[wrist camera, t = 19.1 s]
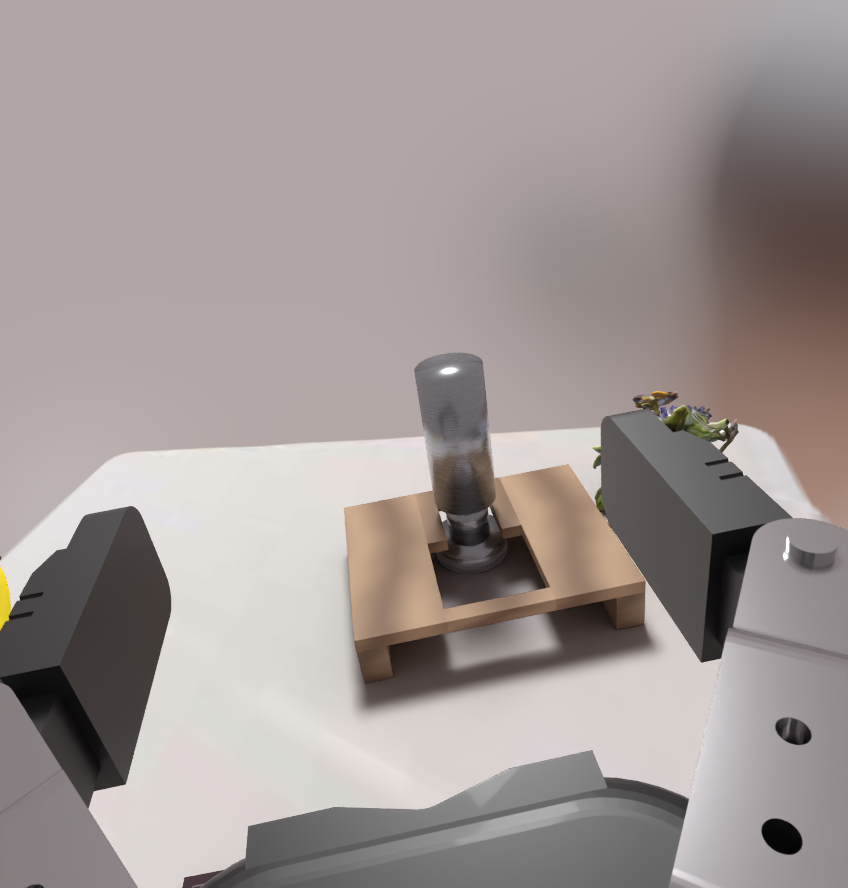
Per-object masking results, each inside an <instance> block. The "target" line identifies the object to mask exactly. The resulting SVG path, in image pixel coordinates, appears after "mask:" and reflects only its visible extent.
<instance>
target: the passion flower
mask: <svg viewBox="0 0 848 888" xmlns="http://www.w3.org/2000/svg"><path fill="white" fill-rule="evenodd" d="M676 398H678V393H677V392H666V393H665V392H659V391H657V392H653V393H651V395H640V396H639V395H638V396H635V397H634V398H633V401H634V402H635V404H636V406H635V407H637V408H643V409H649V410H654V412H655V413H654V412H653V413H654V414H655V415H656V416H657V417H658V418H659V419H660V420H661V421H662V422H663V423H664V424H665V425H666V426H667V427H668V428H669V429H670V430H671V431H672V432H677V431H682V430H684V431H686V432H688V433H690V434H693V435H695V436H697V437H700V438H702V439H704V440H706V441H709V442H714V441H717V440H721V441H726V439H727V442H726V443H725V444H724V445H723V446H722V447H721V448H720V450H719V451H720V452H721V453H722V452H723V451H724V450H725V449H726V447H727V446H728V445H729V444H730V443H731V442H732V441H733V439H734V437H735V436H736V435H737V433H738V429H737V428H738V425H737V423H736V420H737V419H736V420H735V421H734V422H733V423H732V425H731V427H730V428H728V426H727V425H728V424H729V421H728V419H725V420H722V421H720V422H719V423H712V424H710V423H709V422H708V420H709V418H710V417H711V416H712V415H711V414H710V413H708V411H709V410H710V409H709V408H704V406H703V407H700V408H699V409H697V408H696V406H695V407H693V408H692V407H691V406H689V405H682V406H681V407H679V408H678V407H674V406H672V407H671V408H670V410H669V411H667V409H666V408H665V407H663V408H661V413H660V410H659V407H660V406H661V405H666V404H669V403H670V402H672V401H673V400H675V399H676ZM593 449H594V450H595V451H597V452H599V453H600V455H599V456H598V457H597V458H596V460H595V461H594V465H593V468H594V469H596V467H597V466H599V465H601V447H596V446H594V447H593ZM595 500H596V504H597V505H596V506H597V508H598V509H599V510H602V511H603V510H604V506H603V501H602V490H601V487H600V488H599V489H598V491H597V493H596V495H595Z"/></svg>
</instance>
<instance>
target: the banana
mask: <svg viewBox="0 0 848 888" xmlns="http://www.w3.org/2000/svg"><path fill="white" fill-rule="evenodd" d="M0 560H1V557H0ZM10 612H11V603H10V595H9V589H8V585H7V581H6V577H5V575H4V573H3V571H2V569H1V567H0V630H1V628H2V627H3V625H4V623H5V621H9V617H8V616H9V614H10Z"/></svg>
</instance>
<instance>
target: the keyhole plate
mask: <svg viewBox="0 0 848 888" xmlns="http://www.w3.org/2000/svg"><path fill="white" fill-rule="evenodd" d="M494 480H495V490H496V498H495V501H494V502H493V503H492V505H490V509H491V511H492V513H493V516H494V518H495V521H496V523H497V526H498V528H499V530H500V533H501V535H502V538H503V539H506V538H511V537H516V536H521V535H522V536H523V538H524V540H525V542H526V545H527V547H528V549H529V551H530V553H531V556H532V558H533V560H534V562H535V564H536V566H537V569H538V571H539V573H540V575H541V577H542V580H543V582H544V584H545V586H546V588H544V589H539V590H534V591H530V592H525V593H520V594H515V595H510V596H505V597H500V598H496V599H491V600H486V601H481V602H476V603H471V604H466V605H461V606H457V607H452V608H447V609H443V605H442V600H441V596H440V592H439V588H438V584H437V580H436V576H435V572H434V568H433V564H432V560H431V556H430V554H431V553H436V552H441V551H446V550H448V543H447V538H446V535H445V531H444V528H443V525H442V521H441V518H440V514H439V511H441V510H440V509H439V508H438V507H437V506H436V505H435V501H434V494H433V491H429V492H424V493H418V494H413V495H408V496H403V497H398V498H393V499H388V500H382V501H377V502H372V503H367V504H362V505H357V506H352V507H347V508H344V514H345V527H346V540H347V554H348V567H349V580H350V593H351V607H352V620H353V633H354V643H355V647H356V651H357V655H358V658H359V662H360V666H361V670H362V674H363V678H364V682H365V683H368V682H373V681H378V680H383V679H387V678H392V677H393V671H392V663H391V656H390V649H389V645H393V644H398V643H402V642H407V641H412V640H417V639H422V638H426V637H431V636H436V635H441V634H446V633H450V632H455V631H460V630H465V629H470V628H474V627H479V626H484V625H489V624H494V623H499V622H503V621H508V620H513V619H518V618H523V617H527V616H532V615H537V614H542V613H547V612H551V611H556V610H561V609H566V608H571V607H575V606H580V605H585V604H590V603H595V602H599V601H601V602H602V604H603V606H604V608H605V609H606V611H607V613H608V615H609V617H610V618H611V620H612V622H613V624H614V626H615V627H616V629H617V630H620V629H624V628H629V627H634V626H639V625H643V624H644V616H645V579H644V578H643V576H642V575H641V573H640V572H639V570H638V569H637V567H636V566H635V564H634V563H633V561H632V560H631V558H630V557H629V555H628V554H627V552H626V551H625V549H624V548H623V546H622V545H621V543H620V542H619V540H618V538H617V537H616V535H615V534H614V532H613V531H612V529H611V528H610V526H609V525H608V523H607V522H606V520H605V519H604V517H603V516H602V514H601V513H600V511H599V510H598V508H597V507H596V505H595V504H594V502H593V501H592V499H591V498H590V496H589V495H588V493H587V492H586V490H585V489H584V487H583V486H582V484H581V483H580V481H579V480H578V478H577V477H576V475H575V474H574V472H573V471H572V469H571V467H570V466H569V464H567V465H562V466H557V467H552V468H547V469H542V470H536V471H531V472H526V473H521V474H516V475H511V476H506V477H501V478H495V479H494Z"/></svg>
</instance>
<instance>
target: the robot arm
mask: <svg viewBox="0 0 848 888" xmlns="http://www.w3.org/2000/svg"><path fill="white" fill-rule="evenodd" d="M601 490H602V501H603V506H604V510H605V514H606V517H607V519H608V522H609V524H610V526H611V527H612V529H613V531H614V532H615V534H616V535H617V537H618V538H619V540H620V541H621V543H622V544H623V546H624V547H625V549H626V550H627V552H628V553H629V555H630V556H631V558H632V559H633V561H634V562H635V564H636V565H637V567H638V568H639V570H640V571H641V573H642V574H643V576H644V577H645V579H646V580H647V582H648V583H649V585H650V586H651V588H652V589H653V591H654V592H655V594H656V595H657V597H658V598H659V600H660V601H661V603H662V604H663V606H664V607H665V609H666V610H667V612H668V613H669V615H670V616H671V618H672V619H673V621H674V622H675V624H676V625H677V627H678V628H679V630H680V631H681V633H682V634H683V636H684V637H685V639H686V640H687V642H688V643H689V645H690V646H691V648H692V649H693V651H694V652H695V654H696V655H697V657H698V658H699V660H700V662H701V663H702V662H707V661H711V660H716V659H720V658H721V662H720V666H719V671H718V675H717V679H716V684H715V688H714V693H713V697H712V701H711V706H710V710H709V714H708V719H707V723H706V728H705V732H704V736H703V741H702V745H701V749H700V754H699V758H698V763H697V767H696V771H695V776H694V780H693V784H692V789H691V793H690V798H689V799H688V798H686V797H684V796H682V795H680V794H677V793H675V792H672V791H669V790H667V789H664V788H661V787H658V786H655V785H651V784H647V783H643V782H639V781H634V780H627V779H620V778H607V777H603V775H602V773H601V770H600V768H599V766H598V763H597V761H596V758H595V756H594V754H593V751H592V750H591V751H586V752H582V753H577V754H573V755H568V756H564V757H559V758H555V759H550V760H545V761H541V762H536V763H532V764H527V765H523V766H518V767H514V768H509V769H507V770H505V771H503V772H501V773H499V774H497V775H495V776H493V777H491V778H489V779H487V780H485V781H483V782H481V783H479V784H477V785H475V786H473V787H471V788H469V789H467V790H465V791H463V792H461V793H459V794H457V795H455V796H453V797H451V798H449V799H447V800H445V801H443V802H441V803H439V804H437V805H435V806H433V807H430V808H426V809H419V810H413V809H380V808H346V807H333V808H329V809H324V810H320V811H315V812H311V813H306V814H302V815H297V816H293V817H288V818H284V819H279V820H274V821H270V822H265V823H261V824H256V825H252V826H248V836H247V848H246V858H245V859H243V860H241V861H239V862H237V863H235V864H233V865H231V866H230V867H228V868H227V869H225V870H224V871H222V872H220V873H219V874H217V875H216V876H214V877H213V878H211V879H210V880H209V881H208V882H206V883H205V884H204V885H202V886H201V887H200V888H848V531H847V530H845V529H843V528H841V527H838V526H836V525H833V524H830V523H826V522H823V521H818V520H812V519H803V518H792V517H791V516H790V515H789V514H788V513H787V512H786V511H785V510H784V509H782V508H781V507H780V506H779V505H778V504H777V503H776V502H775V501H774V500H773V499H772V498H770V497H769V496H768V495H767V494H766V493H765V492H764V491H763V490H762V489H761V488H760V487H759V486H757V485H756V484H755V483H754V482H753V481H752V480H751V479H750V478H749V477H748V476H747V475H746V476H743V472H742V471H741V470H740V469H739V468H738V467H737V466H736V465H735V464H733V463H732V462H728V458H727V457H726V456H725V455H724V454H723V453H721V452H720V451H719V450H718V449H717V448H716V447H715V446H714V445H713V444H712V443H711V442H709V441H706V440H704V439H702V438H700V437H697V436H695V435H693V434H690V433H688V432H686V431H684V430H682V431H677V432H672V431H671V430H670V429H669V428H668V427H667V426H666V425H665V424H664V423H663V422H662V421H661V420H660V419H659V418H658V417H657V416H656V415H655V414H654V413H653V412H652V411H651V410H649V409H643V410H638V411H632V412H627V413H622V414H617V415H612V416H606V417H605V418H604V419H603V421H602V424H601ZM19 597H20V601H17V602H16V603H15V605H14V607H13V609H12V611H11V612H10V614H9V616H8V617H9V621H5V623H4V625H3V627H2V628H1V630H0V888H138V887H137V885H136V884H135V882H134V881H133V879H132V878H131V876H130V874H129V873H128V871H127V870H126V868H125V866H124V865H123V863H122V862H121V860H120V859H119V857H118V855H117V854H116V852H115V851H114V849H113V848H112V846H111V844H110V843H109V841H108V840H107V838H106V836H105V835H104V833H103V832H102V830H101V829H100V827H99V825H98V824H97V822H96V821H95V819H94V817H93V816H92V814H91V813H90V811H89V810H88V808H89V805H90V801H91V798H92V795H93V792H94V791H97V790H102V789H106V788H111V787H116V786H120V785H125V784H126V781H127V778H128V774H129V770H130V766H131V762H132V759H133V755H134V751H135V747H136V743H137V739H138V736H139V732H140V728H141V724H142V720H143V717H144V713H145V709H146V705H147V701H148V698H149V694H150V690H151V686H152V682H153V679H154V675H155V671H156V667H157V663H158V659H159V656H160V652H161V648H162V644H163V640H164V637H165V633H166V629H167V625H168V621H169V618H170V613H171V593H170V587H169V583H168V580H167V577H166V574H165V572H164V569H163V567H162V564H161V562H160V560H159V557H158V555H157V552H156V550H155V547H154V545H153V542H152V540H151V538H150V535H149V533H148V530H147V528H146V525H145V523H144V521H143V518H142V516H141V514H140V513H139V511H138V510H137V509H136V508H135V507H133V506H129V507H124V508H119V509H114V510H108V511H103V512H98V513H93V514H88V515H85V516H84V517H83V518H82V520H81V522H80V524H79V525H78V527H77V529H76V531H75V533H74V535H73V537H72V539H71V541H70V543H69V545H68V547H67V549H62V550H57V551H56V552H55V553H54V554H52V555H51V556H50V557H49V558H48V559H47V560H46V561H45V562H44V563H43V564H42V565H41V566H40V567H39V568H38V569H36V570H35V571H34V572H33V573H32V575H31V577H30V578H29V580H28V582H27V584H26V586H25V587H24V589H23V591H22V593H21V595H20V596H19Z"/></svg>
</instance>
